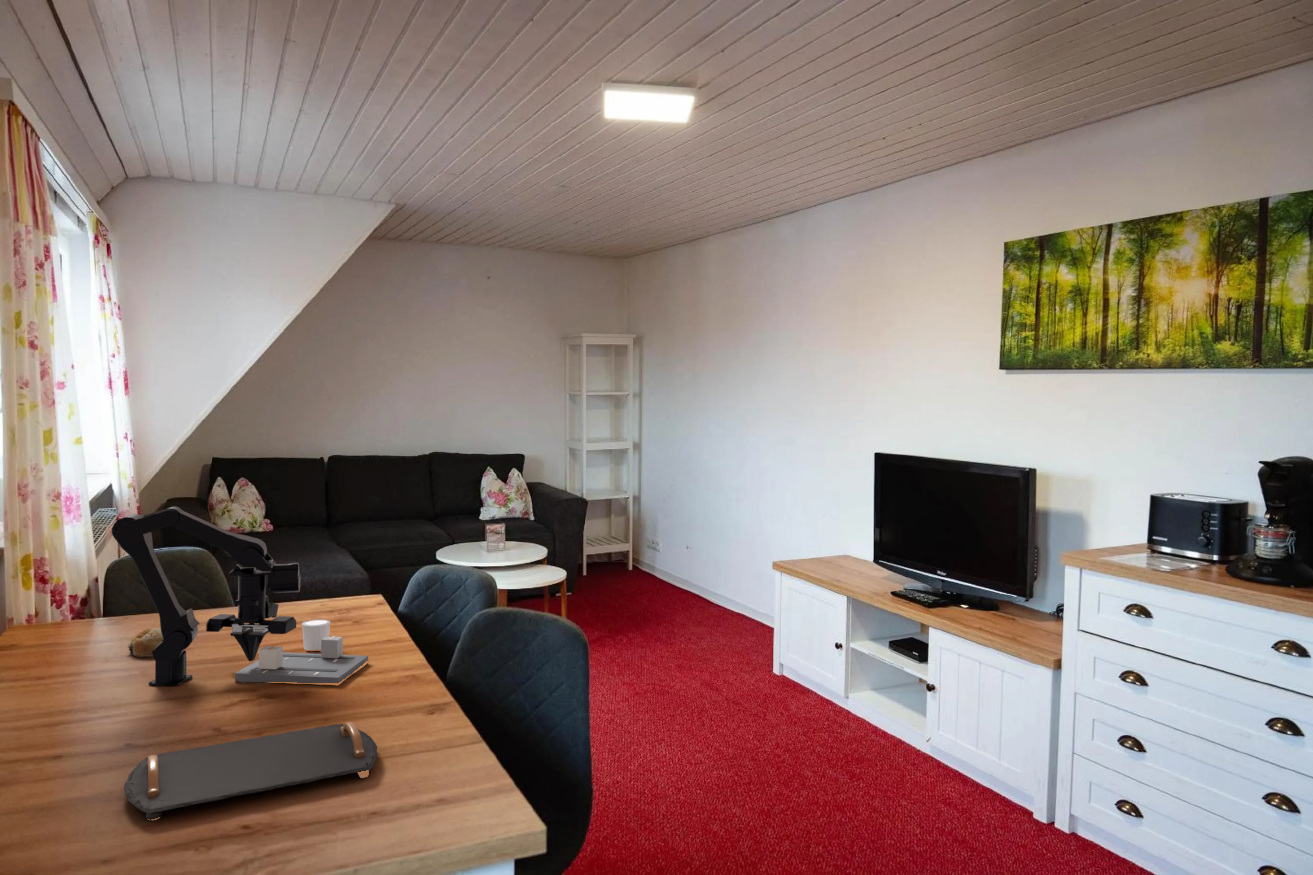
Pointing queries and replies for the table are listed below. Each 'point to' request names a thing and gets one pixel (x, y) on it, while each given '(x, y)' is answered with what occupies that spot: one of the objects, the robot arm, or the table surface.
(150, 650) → the bread roll
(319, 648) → the white cup
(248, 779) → the serving board
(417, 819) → the table surface
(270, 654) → the block
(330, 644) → the fader
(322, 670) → the console
